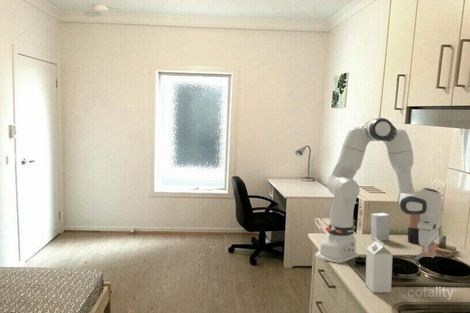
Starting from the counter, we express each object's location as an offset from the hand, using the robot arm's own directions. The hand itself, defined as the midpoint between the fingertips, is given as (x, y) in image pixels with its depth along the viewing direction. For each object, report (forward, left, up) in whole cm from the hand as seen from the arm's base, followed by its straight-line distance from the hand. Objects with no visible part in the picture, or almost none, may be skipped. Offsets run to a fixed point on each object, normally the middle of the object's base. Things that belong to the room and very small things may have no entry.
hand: (428, 250), depth 173 cm
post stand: (+17, -2, -4) cm, 18 cm away
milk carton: (-50, +5, -4) cm, 50 cm away
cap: (0, 0, -2) cm, 2 cm away
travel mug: (+24, +13, -4) cm, 28 cm away
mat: (0, 0, -4) cm, 4 cm away
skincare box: (+15, +29, -4) cm, 33 cm away
